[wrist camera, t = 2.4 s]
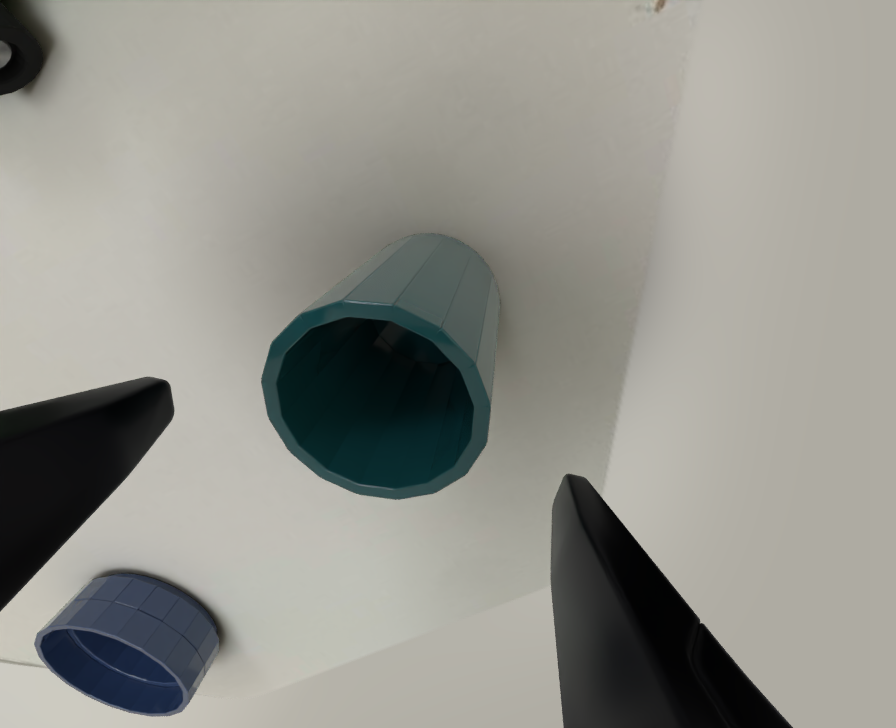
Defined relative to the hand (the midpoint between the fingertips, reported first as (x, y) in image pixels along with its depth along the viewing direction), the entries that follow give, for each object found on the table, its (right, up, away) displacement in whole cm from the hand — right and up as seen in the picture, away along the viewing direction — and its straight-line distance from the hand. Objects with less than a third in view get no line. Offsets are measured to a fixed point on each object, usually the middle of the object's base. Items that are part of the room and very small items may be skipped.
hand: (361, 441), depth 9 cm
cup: (+1, +4, +8) cm, 9 cm away
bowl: (-20, -17, +22) cm, 35 cm away
